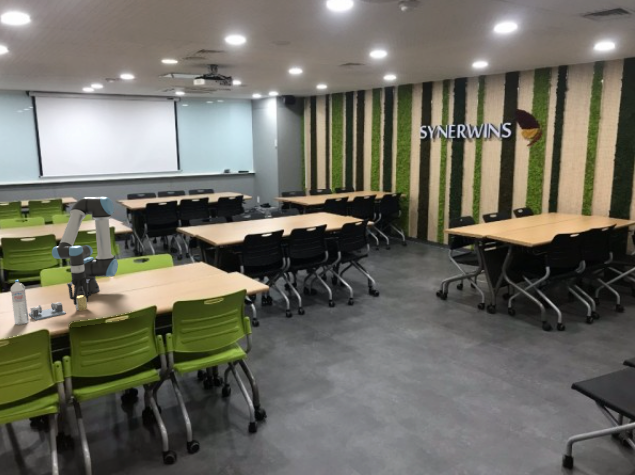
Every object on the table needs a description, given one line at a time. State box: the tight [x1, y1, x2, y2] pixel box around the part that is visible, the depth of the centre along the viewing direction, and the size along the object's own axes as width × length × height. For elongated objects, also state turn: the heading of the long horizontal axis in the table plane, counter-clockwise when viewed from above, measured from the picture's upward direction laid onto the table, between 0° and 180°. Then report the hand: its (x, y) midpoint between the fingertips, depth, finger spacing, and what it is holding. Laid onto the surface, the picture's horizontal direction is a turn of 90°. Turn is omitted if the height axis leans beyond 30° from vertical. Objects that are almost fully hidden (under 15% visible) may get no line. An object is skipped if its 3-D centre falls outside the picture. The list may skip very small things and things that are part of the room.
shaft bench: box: [28, 301, 67, 321], centre depth 298 cm, size 14×16×6 cm
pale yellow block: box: [77, 294, 88, 312], centre depth 307 cm, size 4×4×8 cm
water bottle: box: [10, 279, 29, 326], centre depth 282 cm, size 7×7×25 cm
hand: (81, 308), depth 307 cm, fingers closed on pale yellow block, 4 cm apart
